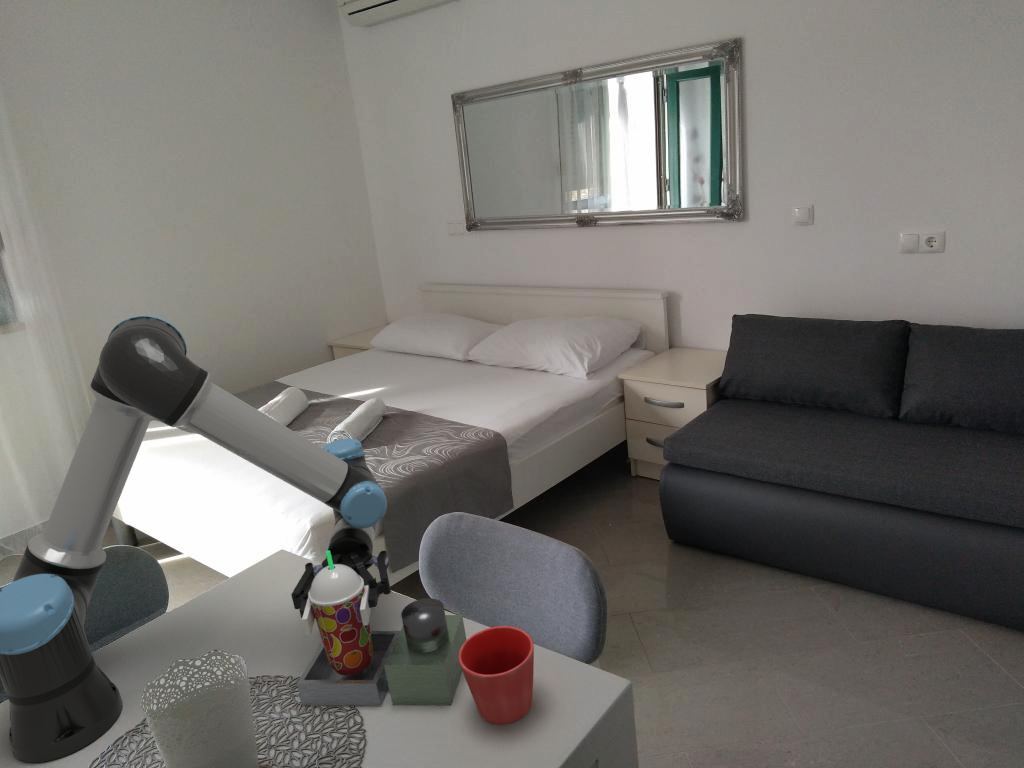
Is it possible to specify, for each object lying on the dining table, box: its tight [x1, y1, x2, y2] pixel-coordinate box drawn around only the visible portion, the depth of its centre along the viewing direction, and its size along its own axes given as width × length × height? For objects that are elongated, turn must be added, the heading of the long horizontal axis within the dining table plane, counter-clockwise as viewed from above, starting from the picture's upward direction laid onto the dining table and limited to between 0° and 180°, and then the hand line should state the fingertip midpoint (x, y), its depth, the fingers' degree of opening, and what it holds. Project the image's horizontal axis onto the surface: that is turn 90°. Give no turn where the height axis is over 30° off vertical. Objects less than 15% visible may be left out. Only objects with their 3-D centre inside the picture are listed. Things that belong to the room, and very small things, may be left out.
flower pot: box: [459, 625, 535, 726], centre depth 107 cm, size 11×11×10 cm
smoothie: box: [308, 549, 373, 676], centre depth 116 cm, size 8×8×20 cm
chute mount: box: [296, 597, 467, 707], centre depth 116 cm, size 23×13×12 cm, turn 81°
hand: (335, 622), depth 111 cm, fingers closed on smoothie, 8 cm apart
